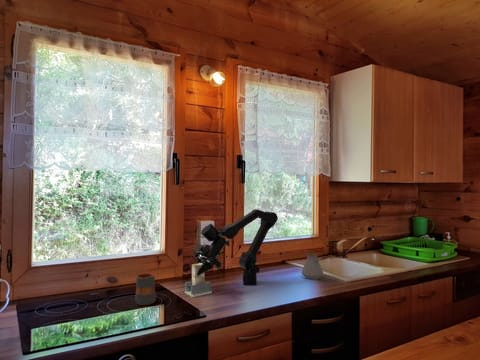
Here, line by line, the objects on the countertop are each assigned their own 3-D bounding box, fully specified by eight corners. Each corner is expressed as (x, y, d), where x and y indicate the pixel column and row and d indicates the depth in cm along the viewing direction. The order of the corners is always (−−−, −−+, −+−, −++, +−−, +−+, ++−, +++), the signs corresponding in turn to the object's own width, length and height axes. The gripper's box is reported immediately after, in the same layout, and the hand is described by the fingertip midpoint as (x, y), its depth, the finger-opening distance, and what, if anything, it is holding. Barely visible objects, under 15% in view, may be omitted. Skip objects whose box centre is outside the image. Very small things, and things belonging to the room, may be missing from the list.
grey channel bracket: (203, 289, 183) (203, 278, 183) (211, 293, 176) (211, 282, 176) (184, 292, 177) (184, 282, 177) (192, 297, 171) (192, 286, 171)
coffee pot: (297, 276, 204) (297, 249, 204) (313, 274, 210) (313, 247, 210) (323, 286, 186) (323, 256, 186) (341, 283, 191) (341, 253, 191)
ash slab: (201, 286, 179) (201, 263, 179) (204, 287, 177) (204, 264, 177) (192, 287, 177) (191, 264, 176) (195, 289, 174) (194, 265, 174)
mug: (150, 296, 173) (150, 270, 173) (158, 303, 162) (158, 276, 162) (131, 299, 169) (131, 273, 168) (138, 307, 158) (137, 279, 158)
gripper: (195, 234, 186) (175, 260, 180) (215, 239, 171) (194, 267, 165) (209, 248, 191) (190, 273, 185) (230, 254, 176) (209, 282, 170)
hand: (195, 274), depth 176 cm, fingers closed on ash slab, 3 cm apart
